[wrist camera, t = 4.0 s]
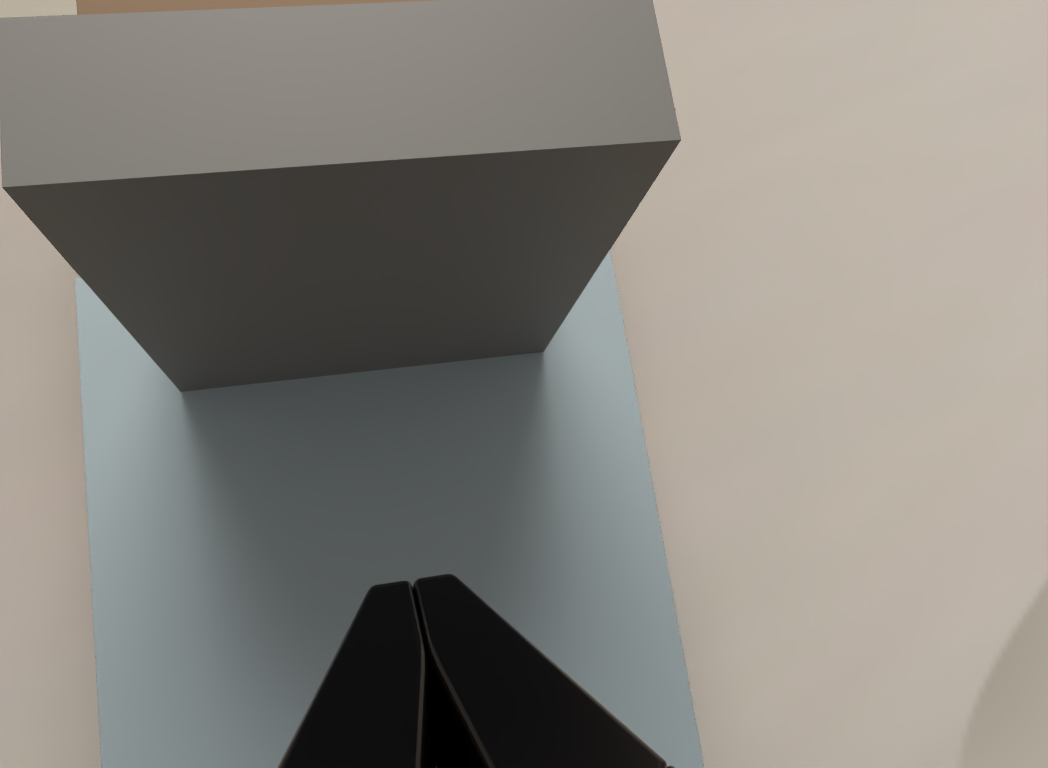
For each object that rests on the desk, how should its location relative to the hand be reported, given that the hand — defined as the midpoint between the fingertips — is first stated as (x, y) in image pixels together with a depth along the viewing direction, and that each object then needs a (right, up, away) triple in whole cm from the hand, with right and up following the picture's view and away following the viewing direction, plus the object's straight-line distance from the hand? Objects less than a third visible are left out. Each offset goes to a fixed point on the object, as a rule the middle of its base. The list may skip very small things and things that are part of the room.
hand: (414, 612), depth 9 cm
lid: (-1, -1, +6) cm, 7 cm away
